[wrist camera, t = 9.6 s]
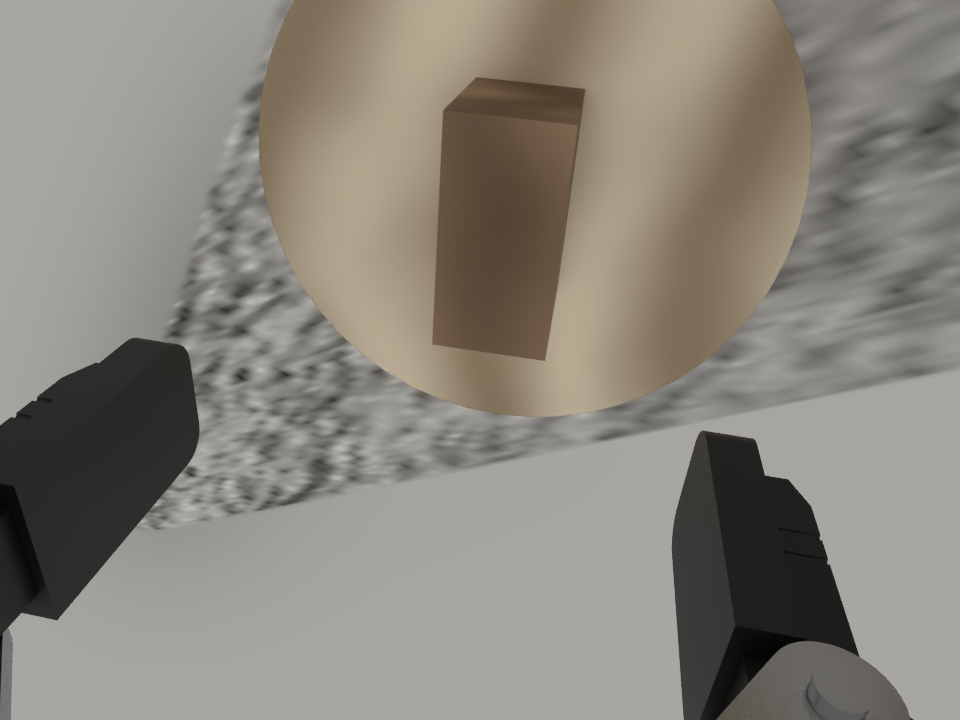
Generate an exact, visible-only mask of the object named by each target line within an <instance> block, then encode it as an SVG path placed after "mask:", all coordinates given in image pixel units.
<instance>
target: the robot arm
mask: <svg viewBox="0 0 960 720" xmlns="http://www.w3.org/2000/svg"><path fill="white" fill-rule="evenodd" d="M198 439H199V419H198V413H197V406H196V399H195V392H194V385H193V378H192V371H191V365H190V359H189V355H188V352H187V351H186V349H185V348H184V347H183V346H181V345H178V344H171V343H165V342H159V341H153V340H146V339H140V338H132V339H130V340H128V341H126V342H125V343H124V344H123V345H121V346H120V347H119V348H118V349H116V350H115V351H114V352H113V353H111V354H110V355H109V356H108V357H106V358H105V359H104V360H103V361H101V362H100V363H94V364H92V365H90V366H87V367H85V368H83V369H81V370H78V371H76V372H74V373H71V374H69V375H67V376H65V377H63V378H61V379H60V380H58V381H57V382H56V383H55V384H53V385H52V386H51V387H49V388H48V389H47V390H45V391H44V392H43V393H42V394H40V395H39V396H38V397H37V401H31V402H30V403H29V404H27V405H26V406H25V407H24V408H22V409H21V410H20V411H18V412H17V415H16V417H15V418H13V417H11V418H9V419H8V420H7V421H5V422H4V423H3V424H2V425H0V720H11V691H12V690H11V688H12V652H13V642H12V637H11V634H10V631H9V629H8V627H9V626H10V625H11V623H12V622H13V621H14V620H15V619H16V618H17V617H18V616H19V615H20V614H21V613H25V614H30V615H35V616H40V617H45V618H49V619H54V620H58V619H59V617H60V616H61V615H62V614H63V612H64V611H65V610H66V609H67V608H68V607H69V605H70V604H71V603H72V602H73V601H74V599H75V598H76V597H77V596H78V595H79V594H80V592H81V591H82V590H83V589H84V588H85V586H86V585H87V584H88V583H89V582H90V580H91V579H92V578H93V577H94V576H95V574H96V573H97V572H98V571H99V570H100V568H101V567H102V566H103V565H104V564H105V562H106V561H107V560H108V559H109V558H110V557H111V555H112V554H113V553H114V552H115V551H116V549H117V548H118V547H119V546H120V545H121V543H122V542H123V541H124V540H125V539H126V537H127V536H128V535H129V534H130V533H131V531H132V530H133V529H134V528H135V527H136V526H137V524H138V523H139V522H140V521H141V520H142V518H143V517H144V516H145V515H146V514H147V512H148V511H149V510H150V509H151V508H152V506H153V505H154V504H155V503H156V502H157V500H158V499H159V498H160V497H161V496H162V495H163V493H164V492H165V491H166V490H167V489H168V487H169V486H170V485H171V484H172V483H173V481H174V480H175V479H176V478H177V477H178V475H179V474H180V473H181V472H182V471H183V469H184V468H185V467H186V466H187V465H188V463H189V462H190V460H191V459H192V457H193V455H194V453H195V450H196V447H197V443H198ZM819 537H820V533H819V530H818V526H817V523H816V521H815V517H814V514H813V511H812V508H811V506H810V505H809V503H808V502H807V501H806V500H805V499H804V498H803V496H802V495H801V494H800V493H799V492H798V491H797V490H796V489H795V487H794V486H793V485H792V484H791V482H790V481H789V480H788V479H781V478H775V477H770V476H765V475H764V470H763V467H762V462H761V459H760V455H759V451H758V447H757V443H756V441H755V440H754V439H751V438H745V437H739V436H733V435H727V434H720V433H714V432H708V431H701V432H700V434H699V435H698V438H697V440H696V443H695V446H694V450H693V454H692V457H691V461H690V465H689V468H688V471H687V475H686V478H685V482H684V485H683V489H682V492H681V496H680V500H679V503H678V507H677V511H676V515H675V520H674V527H673V536H672V559H673V573H674V587H675V601H676V616H677V628H678V643H679V658H680V670H681V671H680V672H681V686H682V699H683V714H684V720H913V719H912V718H910V716H909V713H908V710H907V707H906V706H905V703H904V702H903V700H902V698H901V696H900V695H899V693H898V692H897V690H896V689H895V688H894V687H893V685H892V684H891V683H890V682H889V681H888V680H887V679H886V678H885V677H884V676H883V675H882V674H881V673H880V672H879V671H878V670H877V669H876V668H874V667H873V666H872V665H870V664H869V663H868V662H866V661H865V660H863V659H862V658H860V657H859V654H858V651H857V648H856V645H855V642H854V639H853V636H852V632H851V629H850V626H849V623H848V620H847V617H846V614H845V610H844V607H843V604H842V601H841V598H840V595H839V592H838V589H837V586H836V582H835V579H834V576H833V573H832V570H831V567H830V565H828V564H827V560H828V558H827V555H826V551H825V548H824V545H823V542H822V541H821V540H820V539H819Z"/></svg>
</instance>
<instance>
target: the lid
mask: <svg viewBox="0 0 960 720" xmlns="http://www.w3.org/2000/svg"><path fill="white" fill-rule="evenodd" d="M811 155H812V139H811V116H810V107H809V101H808V96H807V91H806V85H805V80H804V75H803V70H802V67H801V64H800V61H799V58H798V56H797V53H796V50H795V47H794V44H793V41H792V38H791V35H790V32H789V30H788V28H787V26H786V24H785V23H784V21H783V19H782V17H781V15H780V13H779V11H778V9H777V7H776V5H775V3H774V1H773V0H295V1H294V3H293V5H292V7H291V8H290V10H289V12H288V14H287V16H286V17H285V19H284V22H283V25H282V27H281V30H280V32H279V35H278V37H277V40H276V42H275V45H274V48H273V50H272V53H271V57H270V61H269V65H268V69H267V73H266V77H265V81H264V85H263V91H262V100H261V109H260V118H259V158H260V166H261V173H262V180H263V187H264V193H265V197H266V201H267V204H268V208H269V212H270V216H271V219H272V223H273V226H274V228H275V231H276V234H277V236H278V239H279V241H280V244H281V246H282V249H283V251H284V254H285V256H286V258H287V259H288V261H289V263H290V265H291V267H292V269H293V271H294V273H295V274H296V276H297V278H298V280H299V282H300V284H301V285H302V286H303V288H304V289H305V291H306V292H307V294H308V295H309V297H310V298H311V299H312V301H313V302H314V304H315V305H316V307H317V308H318V309H319V310H320V312H321V313H322V314H323V315H324V316H325V317H326V319H327V320H328V321H329V322H330V323H331V324H332V325H333V327H334V328H335V329H336V330H337V331H338V332H339V333H340V334H341V335H342V336H343V337H344V338H345V339H346V340H347V341H349V342H350V343H351V344H352V345H353V346H354V347H355V348H356V349H357V350H358V351H359V352H360V353H362V354H363V355H364V356H366V357H367V358H368V359H370V360H371V361H373V362H374V363H375V364H377V365H378V366H379V367H381V368H382V369H383V370H385V371H386V372H388V373H390V374H391V375H393V376H395V377H397V378H398V379H400V380H402V381H403V382H405V383H407V384H408V385H410V386H412V387H414V388H417V389H419V390H421V391H423V392H425V393H428V394H430V395H432V396H434V397H437V398H439V399H442V400H445V401H448V402H451V403H454V404H457V405H461V406H464V407H467V408H471V409H476V410H481V411H486V412H490V413H495V414H504V415H514V416H524V417H545V416H564V415H572V414H580V413H587V412H592V411H596V410H600V409H604V408H609V407H613V406H617V405H620V404H622V403H625V402H628V401H631V400H633V399H636V398H639V397H642V396H645V395H647V394H649V393H651V392H653V391H655V390H657V389H659V388H661V387H663V386H665V385H667V384H669V383H671V382H673V381H675V380H676V379H678V378H679V377H681V376H683V375H684V374H686V373H687V372H689V371H690V370H692V369H693V368H695V367H696V366H698V365H699V364H701V363H702V362H703V361H705V360H706V359H707V358H708V357H709V356H711V355H712V354H713V353H714V352H715V351H717V350H718V349H719V348H720V347H721V346H722V345H724V344H725V343H726V342H727V341H728V340H729V339H730V338H731V337H732V336H733V335H734V334H735V332H736V331H737V330H738V329H739V328H740V327H741V326H742V325H743V324H744V323H745V322H746V321H747V320H748V319H749V317H750V316H751V315H752V313H753V312H754V311H755V309H756V308H757V306H758V305H759V304H760V302H761V301H762V299H763V298H764V297H765V295H766V294H767V293H768V291H769V290H770V288H771V286H772V284H773V282H774V281H775V279H776V277H777V275H778V273H779V271H780V270H781V268H782V266H783V264H784V262H785V260H786V259H787V256H788V253H789V251H790V248H791V246H792V243H793V240H794V238H795V235H796V233H797V230H798V227H799V225H800V221H801V217H802V212H803V208H804V204H805V200H806V196H807V191H808V186H809V175H810V165H811Z"/></svg>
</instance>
